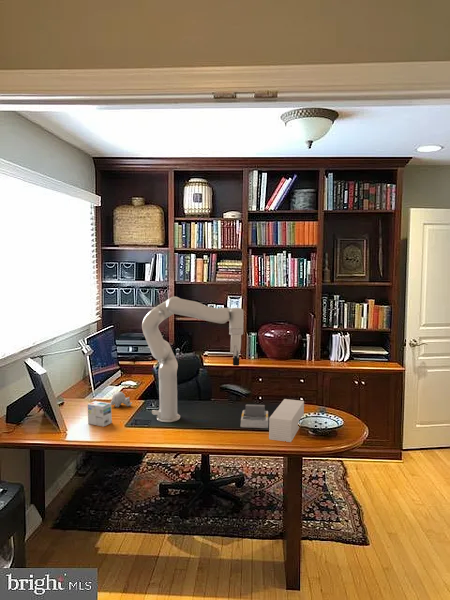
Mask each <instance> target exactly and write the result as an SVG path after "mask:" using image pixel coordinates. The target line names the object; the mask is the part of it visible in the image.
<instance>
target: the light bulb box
mask: <svg viewBox="0 0 450 600" xmlns="http://www.w3.org/2000/svg"><path fill="white" fill-rule="evenodd" d="M112 415H113V412H112V405H111V403H110V402H106V401H98V400H94V401H92V402H89V403H87V423H88V425H93V426H98V427H103V428H104V427H106V426H108V425H110V424H112V423H113V419H112V417H113V416H112Z"/></svg>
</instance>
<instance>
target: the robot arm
mask: <svg viewBox="0 0 450 600" xmlns="http://www.w3.org/2000/svg"><path fill="white" fill-rule="evenodd" d="M174 314H175V315H179V316H183V317H184V316H185V317H190V318H193V319H198V320H202V321H206V322H209V323H216V324H226V323H227V322H229V324H228V326H229V327H228V331H229V332H228V335H230V351H229V353H230V354H232V356H233V358H232V366H233V367H234V366H235V367H236V366H237V367H238V366H240V352H241V347H242V335H244V309H243V308H240V307H234V308H233V307H231V308H229V307H218V308H217V307H212V306H210V305H209V306H207V305H205V304H203V303H202V302H198V301H195V300H189V299H184V298H180V297H178V296H171V297H169V298H168V299H166V300H165V301H163V302H162V303H160V304H158V305H157V306H155V307H153V308H152V309H150V310H149V311H148V312H147V314H146V315H145V316H144V317H143V320H142V323H141V329H142V334H143V336H144V338H145V341H146V344H147V346H148V348H149V349H150V350H149V351H150V353H151V356H152V357H153V358H154V359H155V360H157V362H158V364H159V367H158V370H157V371H158V394H159V395H158V396H159V397H158V399H159V402H158V403H159V404H158V405H159V407H158V408H159V409H158V410H155V409H152V410H151V414H152V415H153V416H156V420H157V421H158V422H162V423H173V422H177V421H179V420H180V419H181V415H180V414H179V413H178V376H177V374H178V367H179V365H178V364H179V363H178V360H177V359H176V356H175V353H174V352H173V350H172V347H171V344H170V342H168V341H167V340H166V339H164V337H163V335H162V333H161V331H160V328H159V325H160V324H161V323H162V322H163V321H165V320H166V319H167V318H169V317H171V316H173V315H174Z"/></svg>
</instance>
